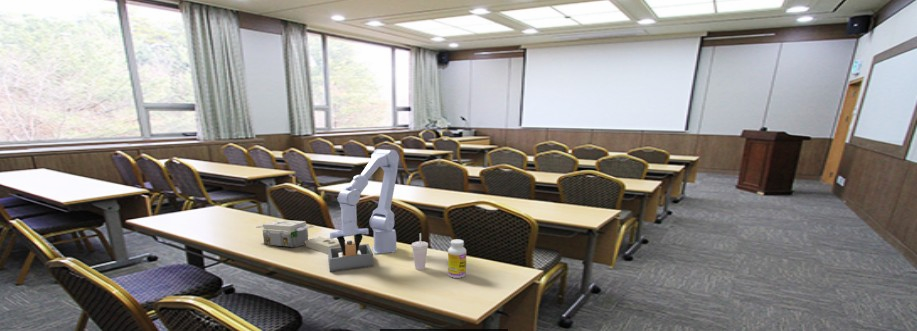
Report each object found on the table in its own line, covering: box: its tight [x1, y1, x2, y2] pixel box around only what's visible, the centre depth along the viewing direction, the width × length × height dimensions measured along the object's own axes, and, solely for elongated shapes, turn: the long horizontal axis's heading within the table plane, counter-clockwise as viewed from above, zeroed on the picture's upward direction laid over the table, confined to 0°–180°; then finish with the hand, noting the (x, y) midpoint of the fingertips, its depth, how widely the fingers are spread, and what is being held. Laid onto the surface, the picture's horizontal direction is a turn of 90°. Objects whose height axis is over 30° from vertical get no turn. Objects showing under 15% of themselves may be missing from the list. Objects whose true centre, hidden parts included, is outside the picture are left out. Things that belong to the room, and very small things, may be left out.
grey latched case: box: [255, 219, 315, 248], centre depth 173 cm, size 12×28×10 cm, turn 66°
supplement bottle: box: [447, 238, 467, 279], centre depth 138 cm, size 7×7×13 cm
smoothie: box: [411, 232, 429, 271], centre depth 144 cm, size 6×6×14 cm
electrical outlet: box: [305, 236, 341, 255], centre depth 166 cm, size 7×4×18 cm
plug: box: [344, 240, 356, 257], centre depth 149 cm, size 4×4×7 cm
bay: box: [327, 243, 374, 273], centre depth 149 cm, size 16×13×5 cm
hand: (350, 253), depth 149 cm, fingers closed on plug, 4 cm apart
